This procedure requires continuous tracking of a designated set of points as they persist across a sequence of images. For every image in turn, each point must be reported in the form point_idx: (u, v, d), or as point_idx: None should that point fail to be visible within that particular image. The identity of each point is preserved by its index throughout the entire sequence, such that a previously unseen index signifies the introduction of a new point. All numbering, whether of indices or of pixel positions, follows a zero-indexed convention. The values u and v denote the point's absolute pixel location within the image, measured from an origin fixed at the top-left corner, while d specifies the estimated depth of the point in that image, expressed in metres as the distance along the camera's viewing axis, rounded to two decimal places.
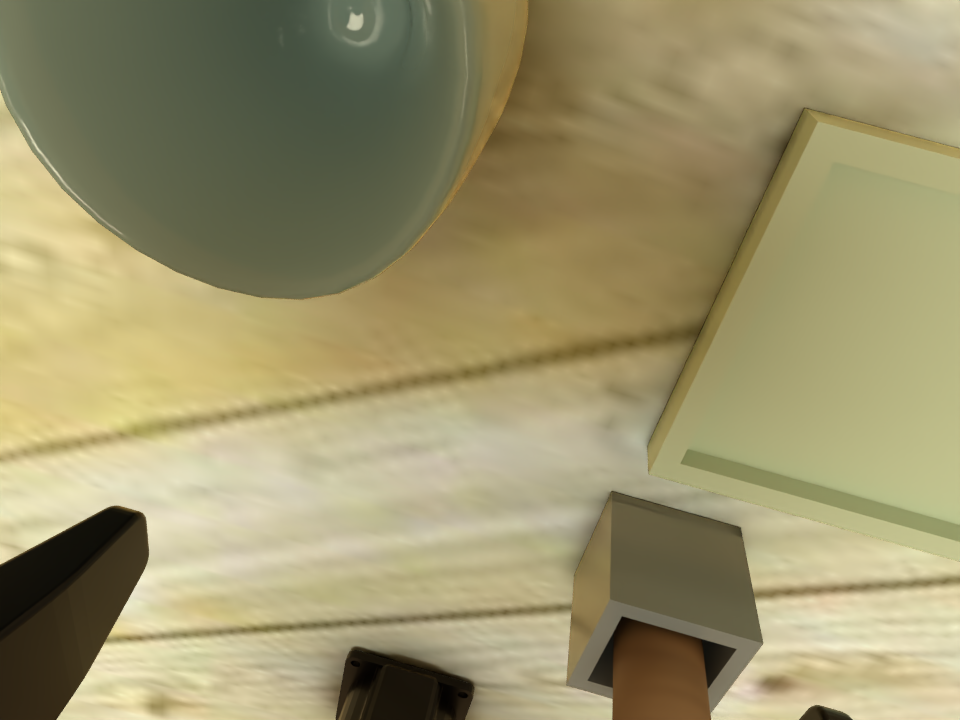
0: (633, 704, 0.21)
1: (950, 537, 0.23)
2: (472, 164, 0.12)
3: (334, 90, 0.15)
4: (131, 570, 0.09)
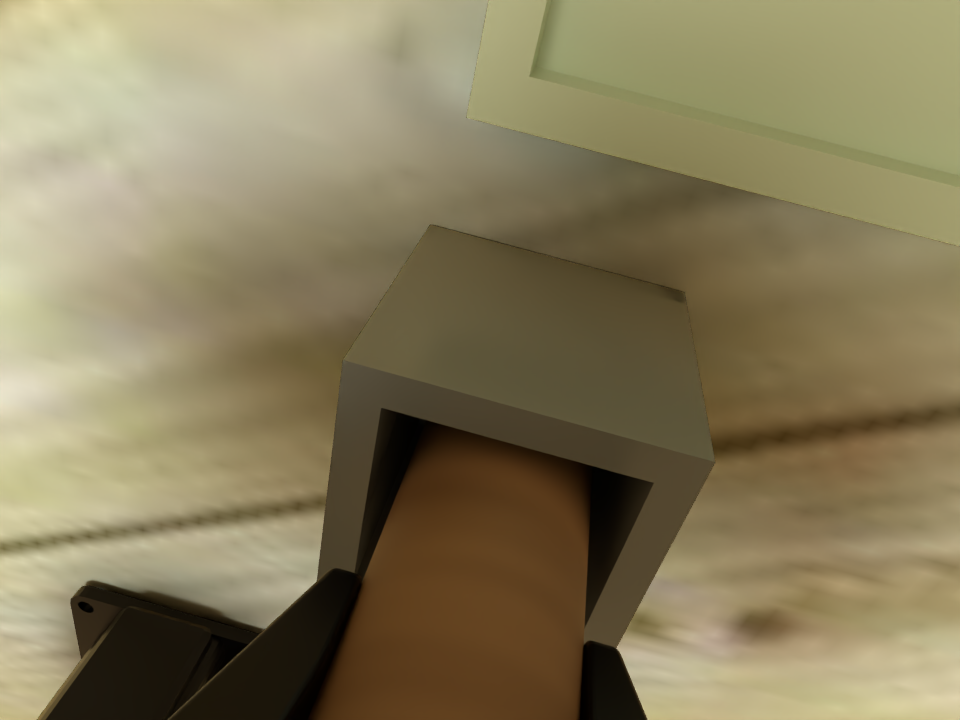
0: (371, 602, 0.08)
1: None
2: None
3: None
4: None
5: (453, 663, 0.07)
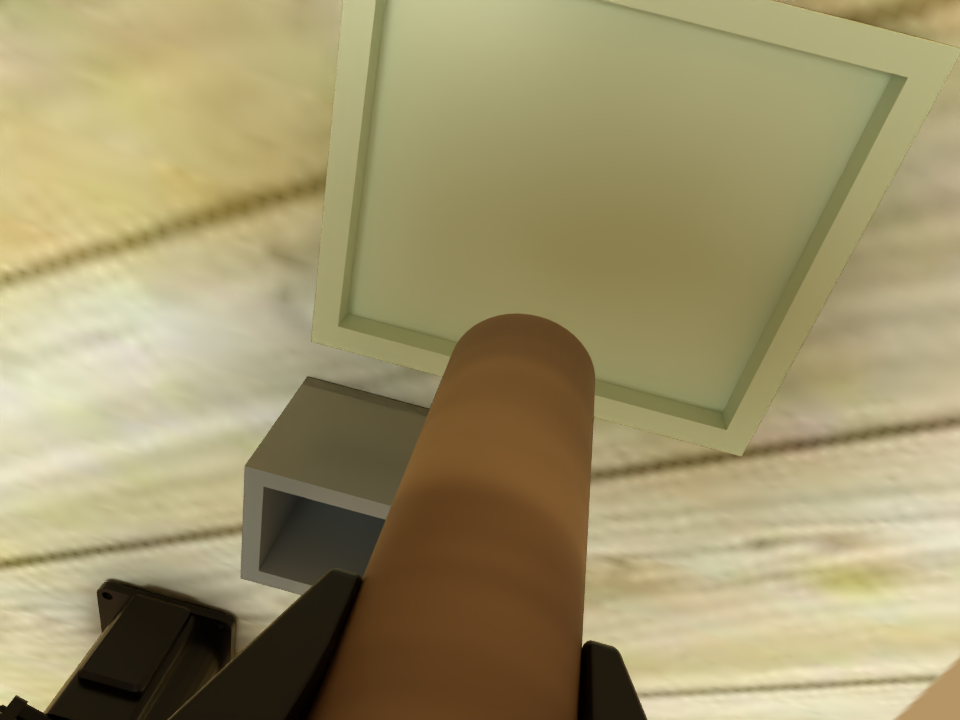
0: (369, 606, 0.08)
1: (625, 401, 0.21)
2: None
3: None
4: None
5: (451, 666, 0.07)
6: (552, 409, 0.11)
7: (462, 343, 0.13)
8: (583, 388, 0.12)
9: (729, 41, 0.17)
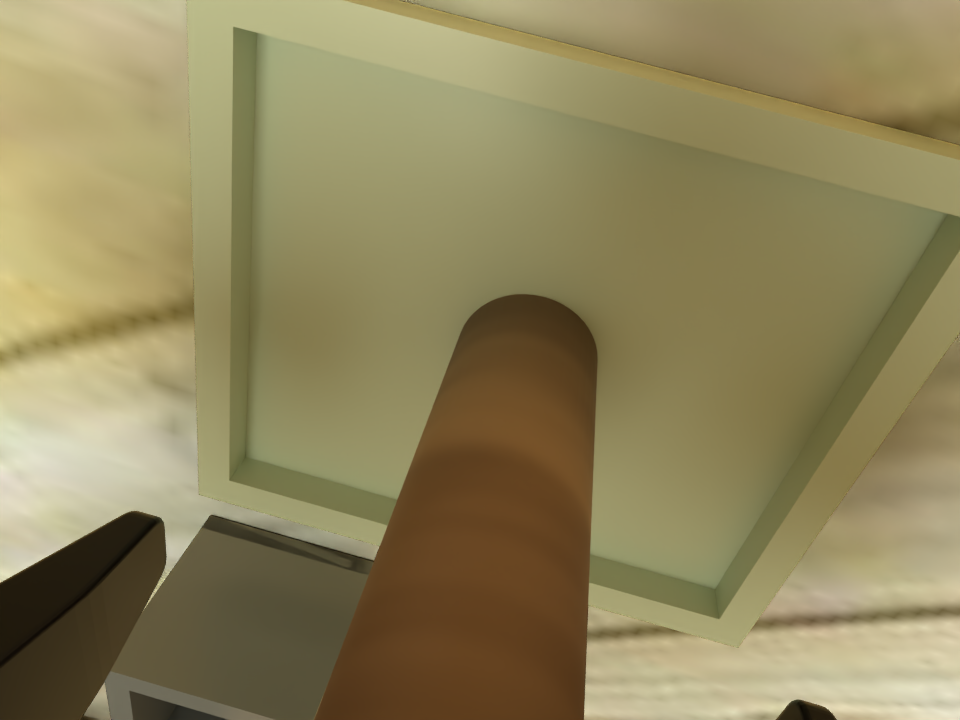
0: (392, 556, 0.09)
1: (590, 579, 0.17)
2: None
3: None
4: (149, 575, 0.09)
5: (470, 605, 0.08)
6: (558, 381, 0.12)
7: (470, 323, 0.14)
8: (586, 364, 0.13)
9: (724, 157, 0.12)
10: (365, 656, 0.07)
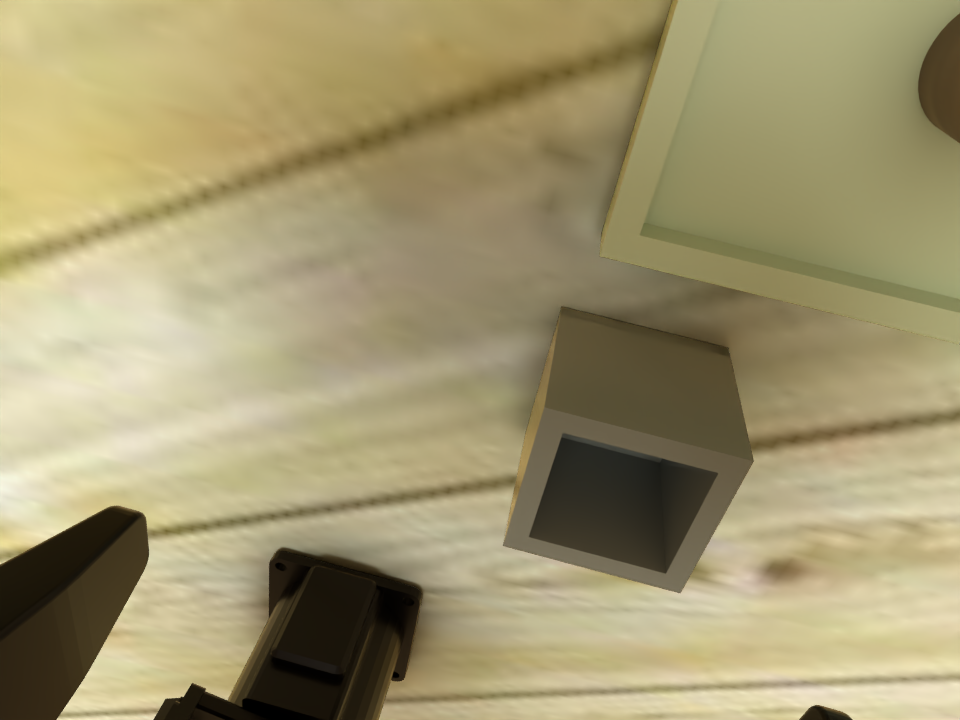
0: None
1: None
2: None
3: None
4: (131, 570, 0.09)
5: None
6: None
7: None
8: None
9: None
10: None
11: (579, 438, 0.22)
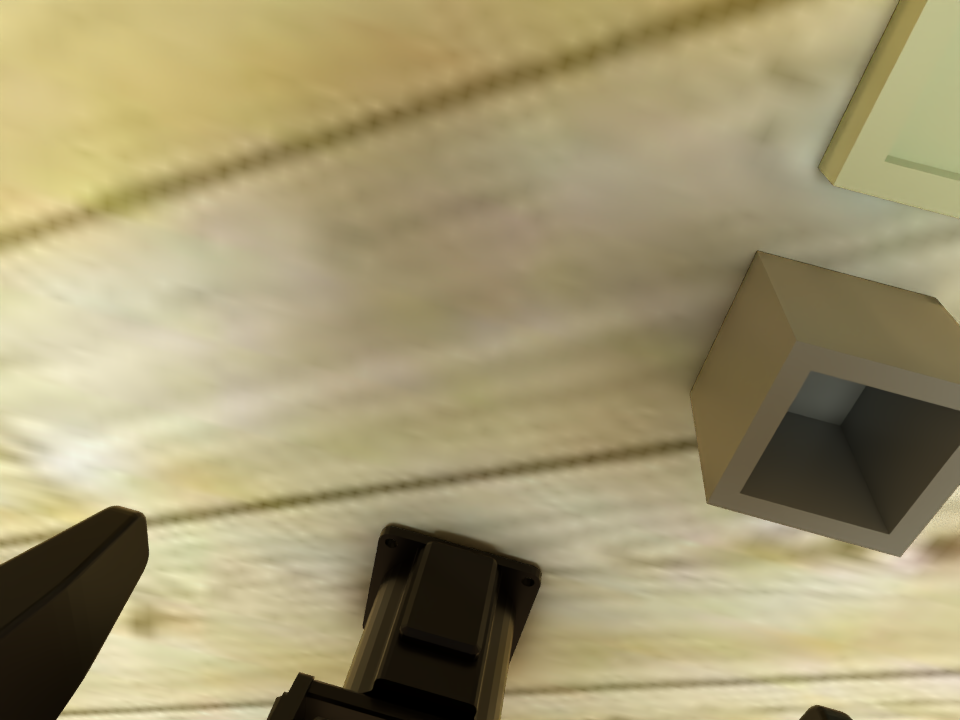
0: None
1: None
2: None
3: None
4: (131, 570, 0.09)
5: None
6: None
7: None
8: None
9: None
10: None
11: None
